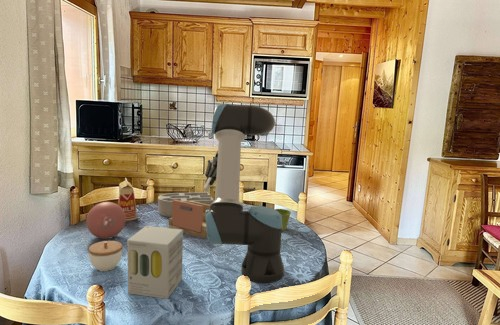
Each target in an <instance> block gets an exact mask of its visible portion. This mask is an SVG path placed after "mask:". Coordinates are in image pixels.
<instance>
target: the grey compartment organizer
mask: <svg viewBox="0 0 500 325" xmlns="http://www.w3.org/2000/svg"><path fill="white" fill-rule="evenodd" d="M172 200H179V201H184V202H188V201H194V202H199V203H204V204H209V205H211V203H213V202H214V201H215V199H214V198H213V197H212V196H211V193H209V191H208V192H207V191H204V192H203V191H202V192H197V191H196V192H172V193H171V192H169V193H163V194H161V195H158V197H157V202H158V205H157V207H158V208H157V209H158V210H157V211H158V213H159V214H158V215H161V216H163V217H166V218H167V217H169V218H172Z"/></svg>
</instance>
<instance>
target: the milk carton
mask: <svg viewBox="0 0 500 325" xmlns="http://www.w3.org/2000/svg"><path fill="white" fill-rule="evenodd" d="M118 189H119V190H118V191H119V192H118V201H117V205H119V206H120V207H121V208H122V209H123V211H124V213H125V216H126V222H127V221H128V222H129V221H133V220H137V218H138V214H137V204H136V197H135V191H134V187H133V185H132V184H131V182H129V181H128V179H127V177H125V178H124V181H122V182H120V183H119V185H118Z"/></svg>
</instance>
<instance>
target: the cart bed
mask: <svg viewBox="0 0 500 325" xmlns="http://www.w3.org/2000/svg"><path fill="white" fill-rule="evenodd" d="M188 203H193V204H198V205H202V206H203V224H202V230H201V233H200V232H196V231H193V230H189V229H185V228H181V227H177V226H173V225H172V217H169V218H168V228H171V229H181V230H183V234H186V235H189V236H193V237H197V238H201V239H206V238H207V230H206V210H208V209H210V205H209V204H204V203H199V202H194V201H188Z"/></svg>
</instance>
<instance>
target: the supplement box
mask: <svg viewBox="0 0 500 325" xmlns="http://www.w3.org/2000/svg"><path fill="white" fill-rule="evenodd" d="M183 245H184V233H183V230H181V229H171V228H169V227H163V226H162V227H160V226H151V225H146V226H144V227H143V228H141V229H140V230H138V231H137V232H136V233H134V234H133V235H132V236H131V237H130V238H128V239H127V294H131V295H138V296H146V297H152V298H160V299H166V300H167V299H169V298H170V297H171V295H172V293H173V292H174V291H175V290H176V288H177V287H178V285H179V284H180V283H181V281H182V280H183V252H184V250H183V248H184V246H183Z"/></svg>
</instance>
